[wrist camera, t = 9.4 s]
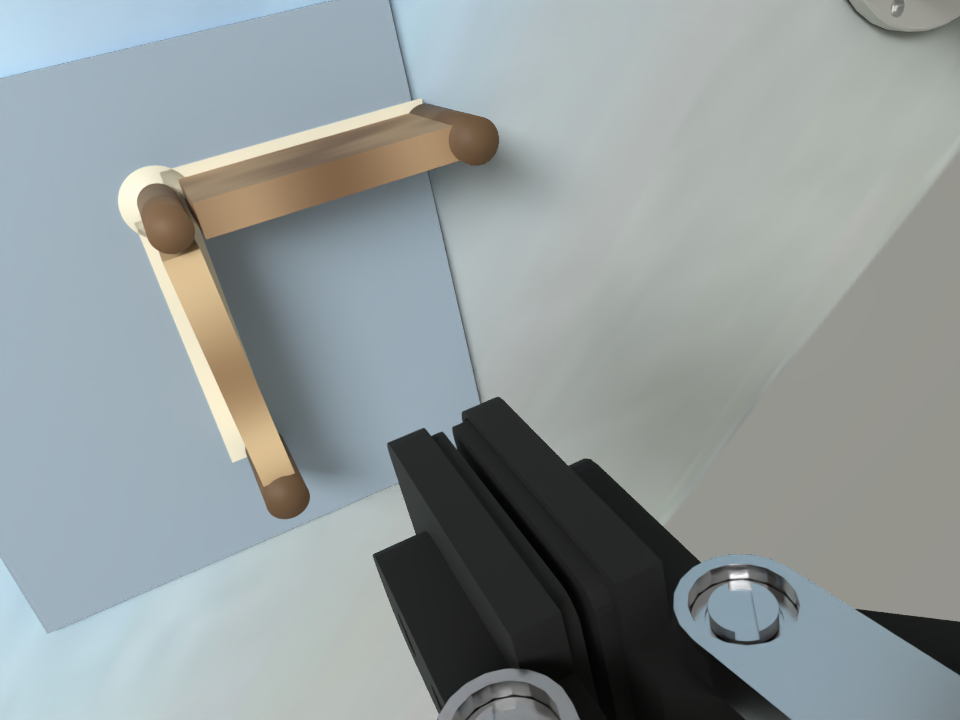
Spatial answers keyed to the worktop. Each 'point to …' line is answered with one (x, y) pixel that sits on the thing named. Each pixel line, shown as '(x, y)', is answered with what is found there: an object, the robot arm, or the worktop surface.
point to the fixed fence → (313, 174)
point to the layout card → (243, 290)
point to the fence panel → (237, 384)
